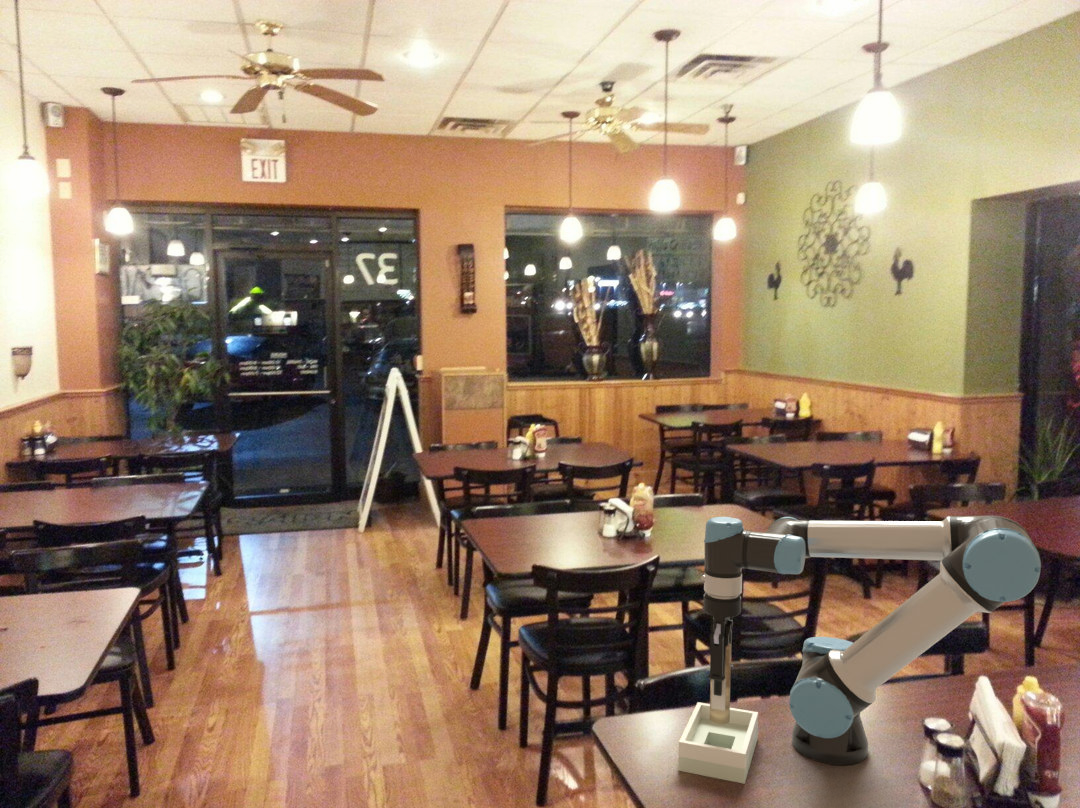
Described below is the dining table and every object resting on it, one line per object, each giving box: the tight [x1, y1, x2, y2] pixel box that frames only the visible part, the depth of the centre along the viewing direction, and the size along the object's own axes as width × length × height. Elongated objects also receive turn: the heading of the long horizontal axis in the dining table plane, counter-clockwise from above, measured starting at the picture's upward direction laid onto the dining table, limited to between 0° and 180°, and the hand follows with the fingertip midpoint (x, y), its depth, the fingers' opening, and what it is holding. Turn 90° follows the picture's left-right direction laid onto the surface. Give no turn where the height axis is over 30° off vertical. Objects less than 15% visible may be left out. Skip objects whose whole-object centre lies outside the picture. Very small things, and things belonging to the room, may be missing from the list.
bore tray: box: [678, 701, 759, 785], centre depth 171 cm, size 13×19×6 cm
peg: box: [709, 643, 732, 724], centre depth 170 cm, size 4×4×16 cm
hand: (720, 703), depth 171 cm, fingers closed on peg, 4 cm apart
